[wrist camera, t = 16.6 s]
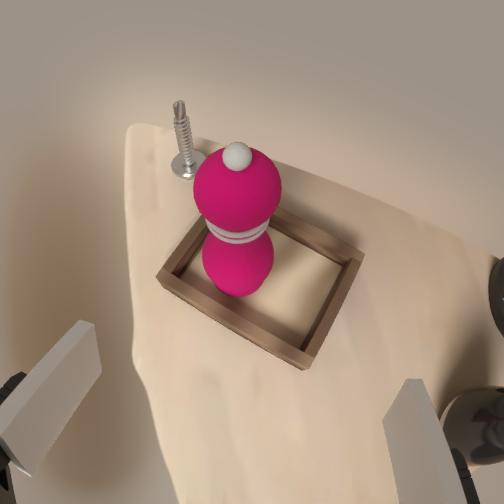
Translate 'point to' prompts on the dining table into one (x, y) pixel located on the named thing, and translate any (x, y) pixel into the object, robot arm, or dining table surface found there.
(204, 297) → the walnut tray
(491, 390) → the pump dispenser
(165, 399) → the dining table surface
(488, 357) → the dining table surface
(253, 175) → the pepper mill
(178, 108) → the screw
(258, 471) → the dining table surface
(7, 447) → the robot arm
